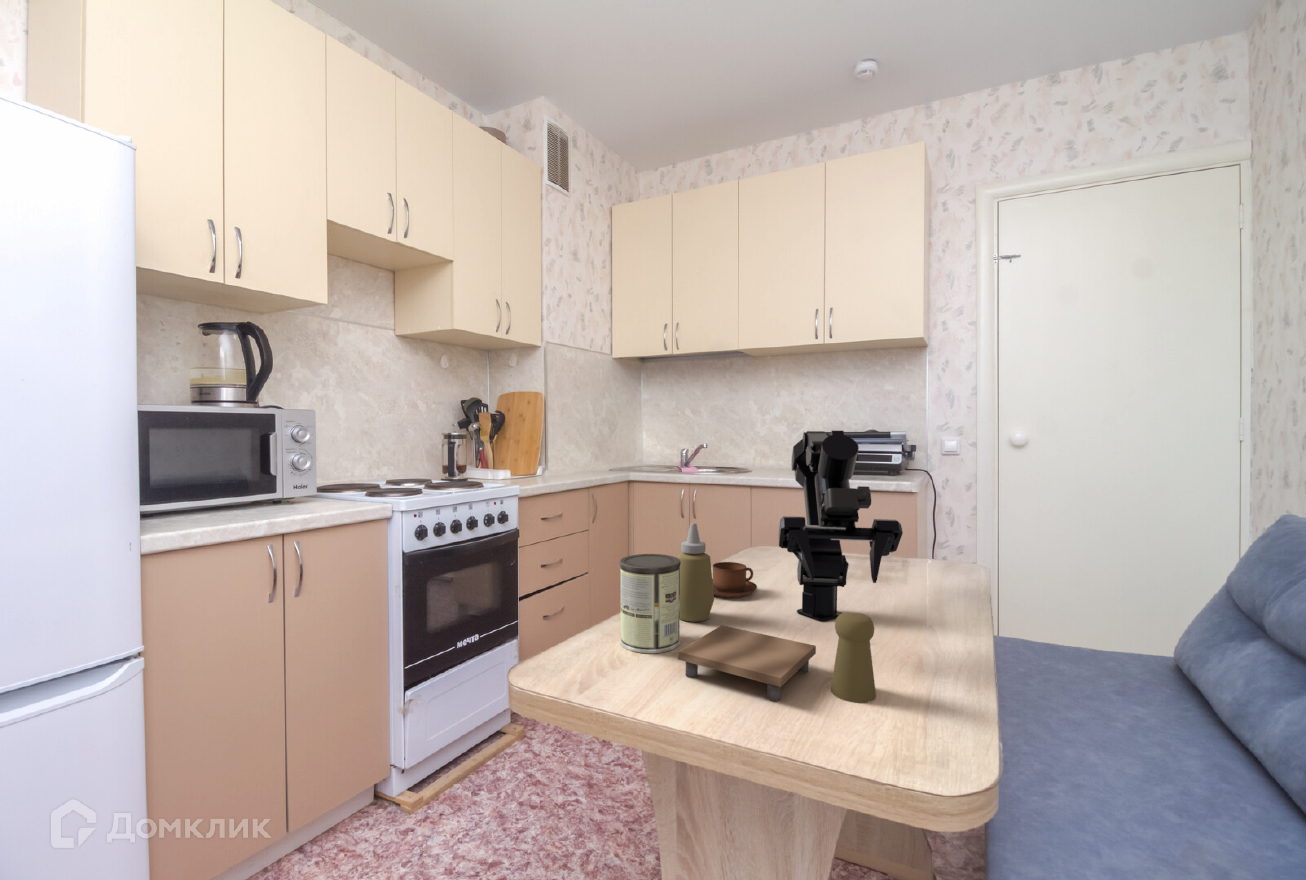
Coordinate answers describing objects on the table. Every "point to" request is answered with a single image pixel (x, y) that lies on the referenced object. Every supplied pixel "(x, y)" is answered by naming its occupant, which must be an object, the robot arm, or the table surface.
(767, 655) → the small wooden stand
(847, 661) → the olive pepper shaker
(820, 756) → the table surface
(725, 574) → the cup and saucer
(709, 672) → the table surface
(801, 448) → the robot arm
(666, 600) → the coffee can
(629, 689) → the table surface
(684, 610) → the squeeze bottle
